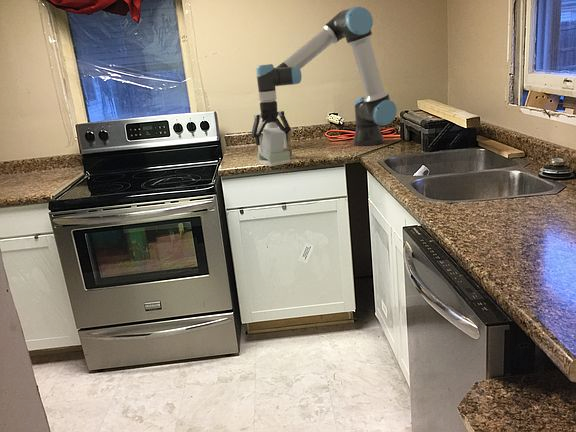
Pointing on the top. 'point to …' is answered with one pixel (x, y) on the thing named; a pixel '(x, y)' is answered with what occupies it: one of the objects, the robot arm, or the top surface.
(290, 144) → the spool
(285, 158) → the green and white block
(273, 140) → the supplement box
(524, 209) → the top surface
